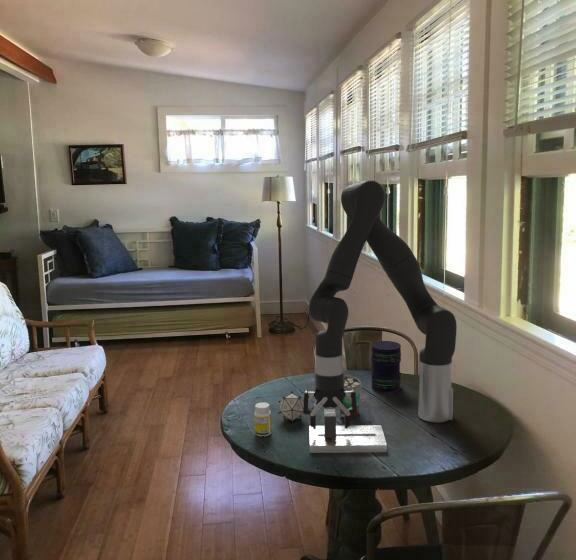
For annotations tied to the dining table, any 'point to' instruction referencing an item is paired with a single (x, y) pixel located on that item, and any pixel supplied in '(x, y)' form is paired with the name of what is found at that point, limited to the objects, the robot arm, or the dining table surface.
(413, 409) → the dining table surface
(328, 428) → the fader knob
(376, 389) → the storage jar
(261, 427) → the supplement bottle
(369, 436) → the console board
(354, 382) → the food container
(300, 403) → the game die
